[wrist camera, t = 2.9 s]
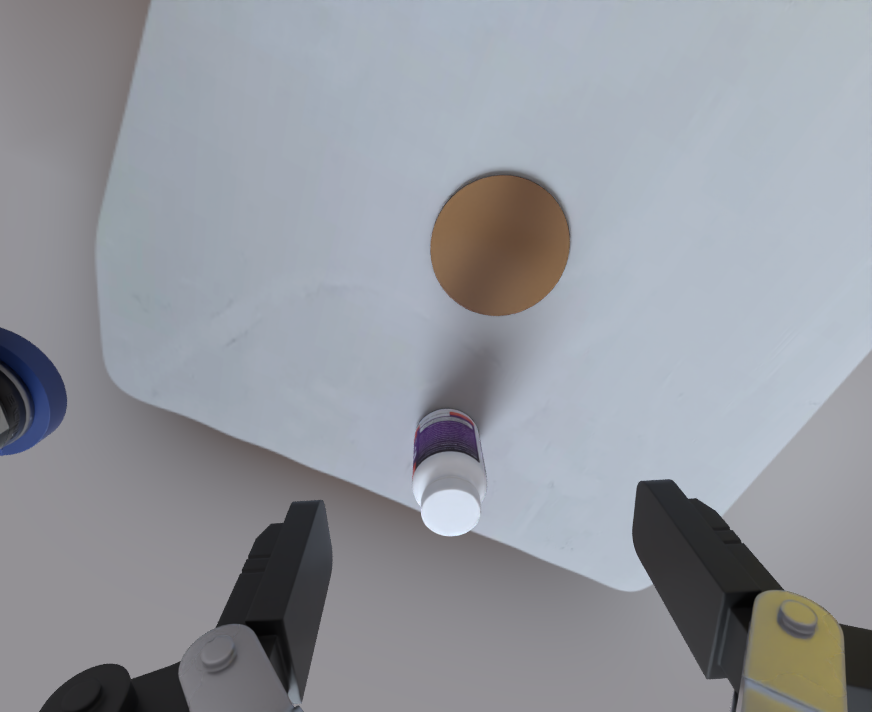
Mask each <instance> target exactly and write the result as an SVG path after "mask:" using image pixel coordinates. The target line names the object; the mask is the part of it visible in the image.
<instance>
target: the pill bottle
mask: <svg viewBox="0 0 872 712" xmlns="http://www.w3.org/2000/svg"><path fill="white" fill-rule="evenodd" d="M412 488H413V493H414V496H415V499H416V500H417V502H418V503H419V505H420V506H421V516H422V519H423V521H424V523H425V525H426V526H427V527H428V528H429V529H430V530H432V531H433V532H435V533H438V534H440V535H445V536H456V535H461V534H464V533H466V532H468V531H470V530H471V529H472V528H474V527H475V525H476V524H477V523H478V521H479V519H480V515H481V502H482V501H483V499H484V497H485V495H486V491H487V476H486V470H485V465H484V459H483V454H482V448H481V443H480V437H479V433H478V429H477V427H476V425H475V423H474V422H473V420H472V419H471V418H470V417H469V416H468V415H466V414H465V413H463V412H461V411H458V410H454V409H440V410H437V411H434V412H432V413H430V414H428V415H427V416H425V417H424V418H423V419H422V420H421V421H420V423H419V424H418V426H417V429H416V432H415V438H414V457H413V478H412Z"/></svg>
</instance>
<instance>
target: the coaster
mask: <svg viewBox="0 0 872 712" xmlns="http://www.w3.org/2000/svg"><path fill="white" fill-rule="evenodd" d="M569 248H570V237H569V229H568V225H567V221H566V218H565V216H564V213H563V211H562V209H561V208H560V206H559V204H558V203H557V202H556V200H555V199H554V198H553V197H552V195H550V194H549V193H548V192H547V191H546V190H545V189H544V188H542V187H541V186H539V185H538V184H536V183H534V182H532V181H530V180H527V179H524V178H521V177H517V176H511V175H496V176H489V177H485V178H482V179H479V180H476V181H474V182H472V183H470V184H468V185H466V186H465V187H463V188H462V189H461V190H459V191H458V192H457V193H456V194H455V195H454V196H452V197H451V198H450V199H449V201H448V202H447V203H446V204H445V206H444V207H443V209H442V210H441V212H440V214H439V216H438V218H437V220H436V222H435V225H434V228H433V232H432V237H431V250H430V252H431V261H432V265H433V269H434V272H435V275H436V277H437V279H438V281H439V283H440V285H441V286H442V288H443V289H444V291H445V292H446V293H447V294H448V295H449V296H450V297H451V298H452V299H453V300H454V301H455V302H457V303H458V304H459V305H461V306H463V307H464V308H466V309H468V310H470V311H473V312H476V313H479V314H483V315H490V316H502V315H510V314H514V313H518V312H521V311H523V310H526V309H528V308H530V307H532V306H533V305H535V304H536V303H538V302H539V301H541V300H542V299H543V298H544V297H545V296H547V294H548V293H549V292H550V291H551V290H552V289H553V288H554V286H555V285H556V284H557V282H558V281H559V279H560V277H561V275H562V273H563V271H564V269H565V266H566V263H567V259H568V255H569Z"/></svg>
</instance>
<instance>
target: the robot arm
mask: <svg viewBox="0 0 872 712" xmlns="http://www.w3.org/2000/svg"><path fill="white" fill-rule="evenodd" d="M33 419H34V403H33V399H32V396H31V393H30V391H29V389H28V387H27V386H26V384H25V383H24V381H23V380H22V379H21V377H20V376H19V375H18V374H17V373H16V372H15V371H14V370H13V369H12V368H11V367H10V366H8V365H7V364H6V363H4V362H3V361H1V360H0V449H2V448H3V447H5V446H7V445H9V444H11V443H13V442H14V441H16V440H17V439H19V438H20V437H21V436H23V435H24V434H25V433H26V432H27V431H28V430H29V428H30V427H31V425H32V422H33ZM632 536H633V543H634V547H635V550H636V553H637V555H638V557H639V559H640V561H641V563H642V565H643V566H644V568H645V570H646V572H647V573H648V575H649V577H650V579H651V581H652V582H653V584H654V586H655V588H656V590H657V591H658V593H659V595H660V597H661V598H662V600H663V602H664V604H665V606H666V607H667V609H668V611H669V613H670V615H671V616H672V618H673V620H674V622H675V623H676V625H677V627H678V629H679V631H680V632H681V634H682V636H683V638H684V640H685V641H686V643H687V645H688V647H689V648H690V650H691V652H692V654H693V655H694V657H695V659H696V661H697V663H698V664H699V666H700V668H701V670H702V672H703V674H704V675H705V677H706V679H721V678H728V680H729V681H730V683H731V685H732V686H733V688H734V692H733V697H732V702H731V708H730V712H872V630H868V629H863V628H858V627H853V626H848V625H843V624H839V623H838V622H837V620H836V619H835V618H834V617H833V616H832V615H831V614H830V613H829V612H828V611H827V610H825V609H824V608H823V607H821V606H820V605H818V604H817V603H815V602H814V601H812V600H810V599H808V598H806V597H804V596H801V595H798V594H796V593H792V592H788V591H785V590H784V589H783V588H782V587H781V586H780V585H779V584H778V582H777V581H776V580H775V579H774V578H773V577H772V575H771V574H770V573H769V572H768V571H767V570H766V569H765V568H764V566H763V565H762V564H761V563H760V562H759V560H758V559H757V558H756V557H755V556H754V555H753V553H752V552H751V551H750V550H749V549H748V548H747V547H746V545H745V544H744V543H741V540H740V538H739V537H738V536H737V535H736V534H735V533H734V531H733V530H730V527H729V526H728V525H727V523H726V522H725V521H724V520H723V519H722V518H721V516H720V515H719V514H718V513H717V512H716V511H715V510H713V509H712V508H710V507H709V506H707V505H706V504H704V503H703V502H701V501H699V500H698V499H696V498H694V499H688V498H687V497H686V496H685V494H684V493H683V492H682V491H681V489H680V488H679V487H678V486H677V485H676V483H675V482H674V481H673V480H670V479H666V480H650V481H640V482H639V483H638V485H637V490H636V500H635V509H634V519H633V528H632ZM331 571H332V545H331V539H330V534H329V527H328V521H327V515H326V509H325V504H324V502H323V500H314V501H297V502H292V504H291V506H290V508H289V511H288V513H287V515H286V518H285V521H284V523H276V524H270V526H268V527H267V528H266V529H265V530H264V531H263V532H262V533H261V534H260V535H259V536H258V537H257V538H256V540H255V542H254V544H253V547H252V549H251V551H250V553H249V555H248V559H247V560H246V562H245V564H244V567H243V569H242V574H240V575H239V578H238V580H237V582H236V584H235V586H234V589H233V591H232V593H231V595H230V597H229V600H228V602H227V604H226V606H225V608H224V611H223V613H222V615H221V617H220V620H219V622H218V624H217V626H216V628H215V629H213V630H211V631H209V632H207V633H205V634H204V635H202V636H201V637H200V638H198V639H197V640H196V641H195V642H194V643H193V644H192V645H191V646H190V647H189V649H188V650H187V651H186V653H185V654H184V656H183V658H182V660H181V661H180V662H178V663H176V664H173V665H171V666H168V667H165V668H163V669H159V670H157V671H154V672H151V673H148V674H145V675H142V676H139V677H136V678H133V679H131V678H130V675H129V673H128V671H127V670H126V669H125V668H124V667H123V666H120V665H117V664H103V665H99V666H95V667H92V668H90V669H87V670H85V671H83V672H81V673H79V674H77V675H76V676H74V677H72V678H71V679H70V680H68V681H67V682H65V683H64V684H63V685H62V686H60V687H59V688H58V689H57V690H56V691H55V692H54V693H53V694H52V695H51V696H50V697H49V699H48V700H47V701H46V703H45V704H44V705H43V707H42V708H41V710H40V711H39V712H303V710H302V709H301V708H300V706H296V707H294V706H293V704H298V703H302V700H303V696H304V691H305V687H306V682H307V678H308V674H309V669H310V665H311V661H312V656H313V652H314V647H315V642H316V639H317V634H318V630H319V625H320V621H321V617H322V612H323V607H324V603H325V599H326V594H327V590H328V585H329V581H330V577H331Z"/></svg>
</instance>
